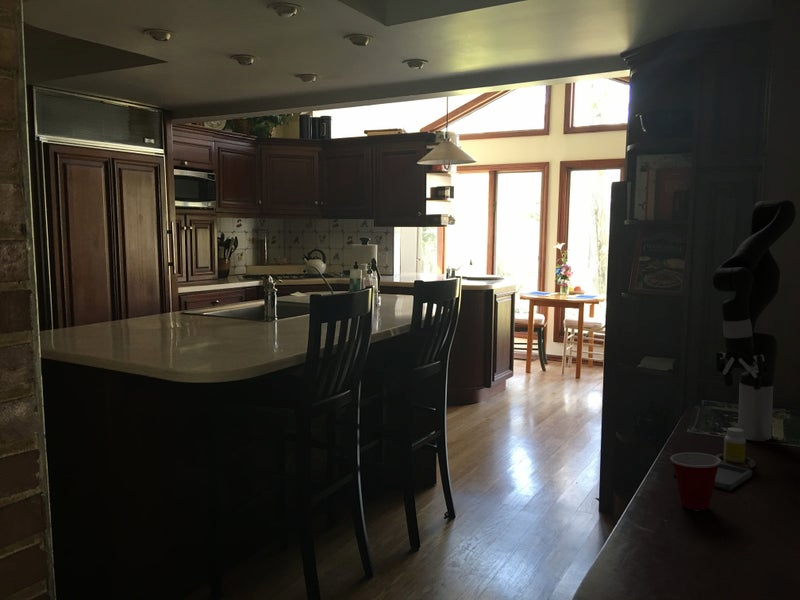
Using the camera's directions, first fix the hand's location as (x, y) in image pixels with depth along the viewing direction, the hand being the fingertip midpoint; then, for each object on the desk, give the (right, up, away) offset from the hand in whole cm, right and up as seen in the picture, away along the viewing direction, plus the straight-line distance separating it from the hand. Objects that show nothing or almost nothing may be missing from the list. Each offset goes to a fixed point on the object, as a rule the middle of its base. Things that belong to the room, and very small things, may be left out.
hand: (743, 387), depth 189 cm
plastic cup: (-33, -23, -39) cm, 56 cm away
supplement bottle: (-9, -20, -11) cm, 24 cm away
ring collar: (-9, -20, -11) cm, 24 cm away
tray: (-19, -21, -20) cm, 35 cm away
